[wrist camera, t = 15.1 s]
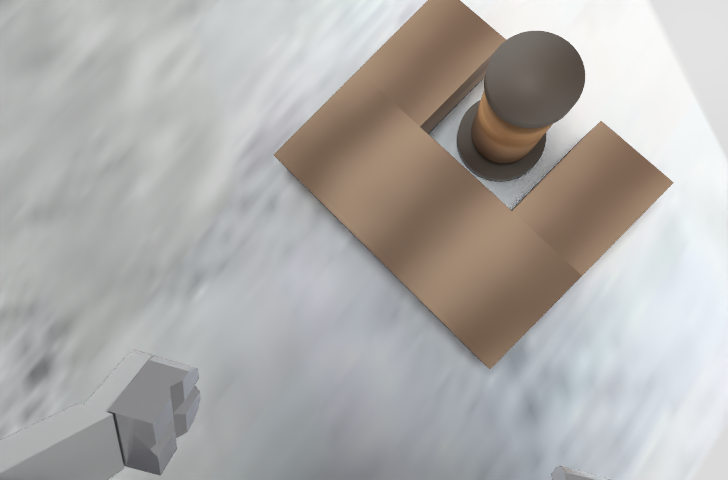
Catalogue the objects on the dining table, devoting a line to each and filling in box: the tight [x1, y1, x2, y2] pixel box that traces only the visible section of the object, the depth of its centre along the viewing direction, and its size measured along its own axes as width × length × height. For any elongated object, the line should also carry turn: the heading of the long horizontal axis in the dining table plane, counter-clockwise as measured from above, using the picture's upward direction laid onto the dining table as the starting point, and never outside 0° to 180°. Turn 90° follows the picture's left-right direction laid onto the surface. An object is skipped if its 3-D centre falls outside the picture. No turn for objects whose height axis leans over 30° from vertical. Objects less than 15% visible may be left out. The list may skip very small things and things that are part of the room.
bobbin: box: [457, 31, 585, 181], centre depth 26 cm, size 5×5×9 cm
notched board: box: [274, 0, 674, 369], centre depth 29 cm, size 17×14×3 cm
